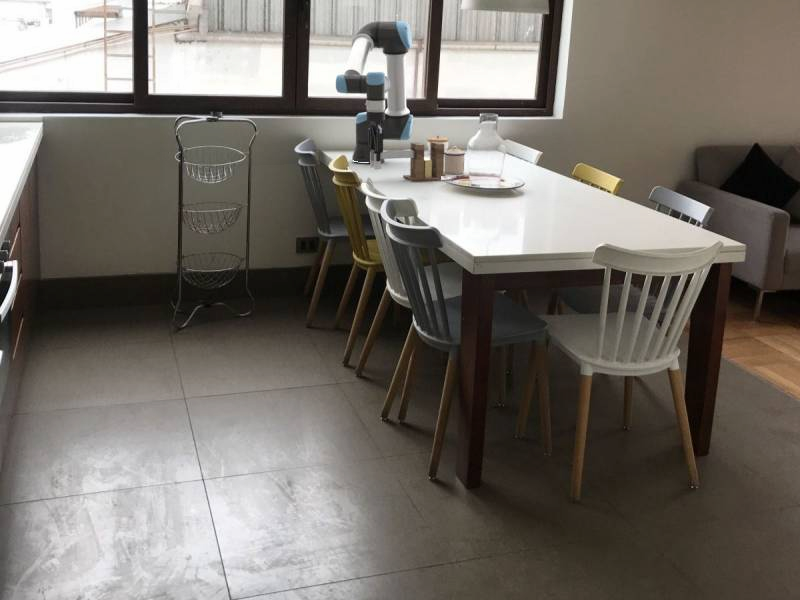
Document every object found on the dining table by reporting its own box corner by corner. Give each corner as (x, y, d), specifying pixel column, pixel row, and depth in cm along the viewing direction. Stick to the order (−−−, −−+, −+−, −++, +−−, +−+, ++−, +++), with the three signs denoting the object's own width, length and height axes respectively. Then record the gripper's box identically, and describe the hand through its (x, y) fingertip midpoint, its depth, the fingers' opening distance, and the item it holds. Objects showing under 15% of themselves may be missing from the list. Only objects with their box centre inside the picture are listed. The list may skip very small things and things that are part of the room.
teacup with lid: (467, 173, 417) (468, 147, 414) (449, 175, 414) (449, 148, 410) (456, 169, 428) (456, 143, 424) (437, 170, 424) (438, 144, 421)
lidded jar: (441, 156, 467) (441, 137, 464) (422, 154, 473) (423, 135, 470) (452, 154, 476) (452, 135, 473) (434, 152, 481) (434, 133, 479)
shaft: (370, 159, 395) (370, 149, 393) (415, 157, 401) (416, 147, 400) (374, 161, 391) (374, 150, 389) (419, 159, 397) (419, 148, 396)
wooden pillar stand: (403, 177, 406) (403, 142, 401) (439, 175, 411) (440, 140, 407) (413, 182, 395) (413, 145, 391) (450, 180, 401) (451, 144, 396)
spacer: (418, 175, 405) (419, 157, 403) (425, 175, 406) (425, 157, 404) (424, 178, 399) (425, 160, 397) (431, 177, 400) (431, 160, 398)
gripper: (360, 109, 394) (360, 165, 401) (373, 113, 378) (373, 171, 385) (377, 108, 396) (377, 164, 403) (391, 112, 381) (391, 170, 387)
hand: (375, 168), depth 394 cm, fingers closed on shaft, 4 cm apart
